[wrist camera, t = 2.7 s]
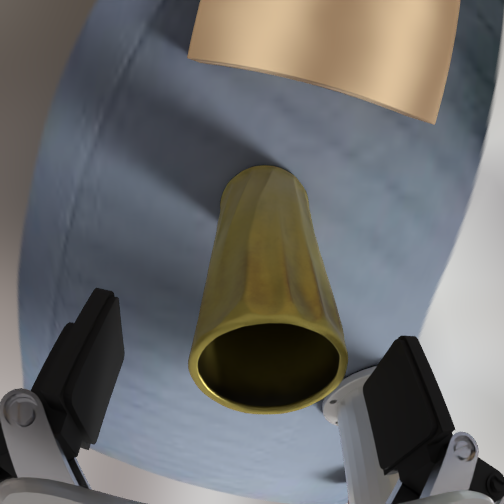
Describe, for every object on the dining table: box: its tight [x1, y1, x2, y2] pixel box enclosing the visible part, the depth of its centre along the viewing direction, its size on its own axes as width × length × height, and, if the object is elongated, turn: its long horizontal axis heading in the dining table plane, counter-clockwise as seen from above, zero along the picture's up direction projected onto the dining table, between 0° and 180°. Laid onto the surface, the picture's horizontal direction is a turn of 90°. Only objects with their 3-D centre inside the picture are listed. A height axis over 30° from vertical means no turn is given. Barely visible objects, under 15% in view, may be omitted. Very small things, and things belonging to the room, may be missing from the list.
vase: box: [188, 165, 348, 414], centre depth 16 cm, size 6×6×14 cm
